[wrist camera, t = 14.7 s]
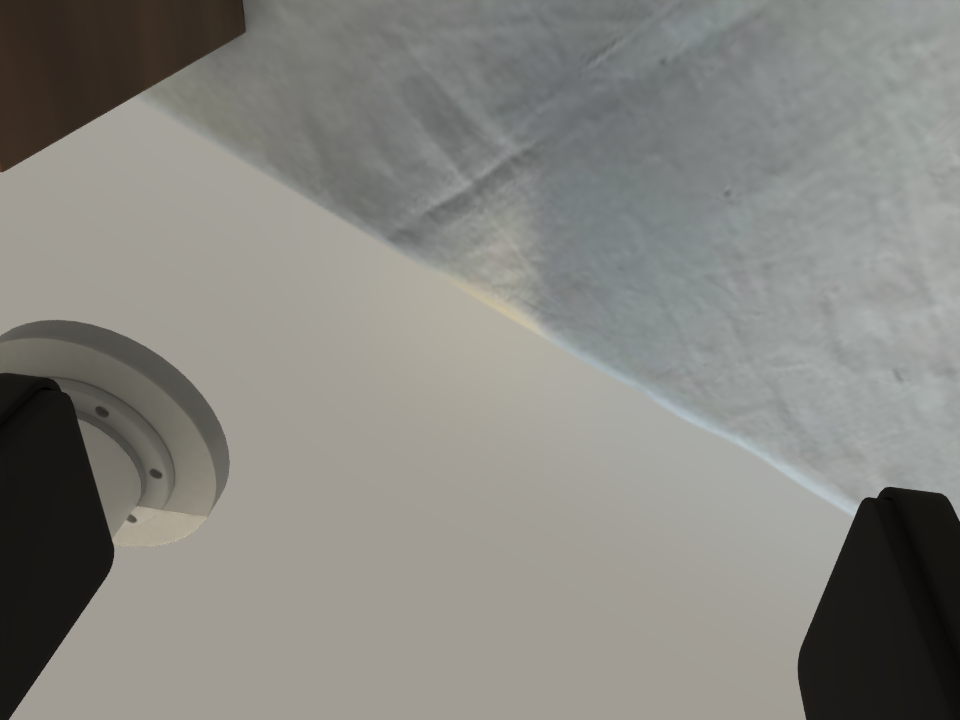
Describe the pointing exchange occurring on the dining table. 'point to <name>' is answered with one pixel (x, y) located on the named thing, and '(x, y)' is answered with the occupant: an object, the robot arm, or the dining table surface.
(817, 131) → the dining table surface
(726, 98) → the dining table surface
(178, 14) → the stand
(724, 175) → the dining table surface
